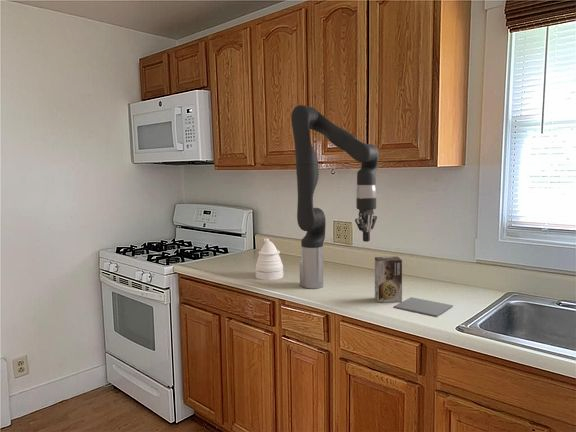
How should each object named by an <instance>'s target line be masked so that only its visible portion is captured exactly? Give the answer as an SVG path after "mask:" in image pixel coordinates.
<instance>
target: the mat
mask: <svg viewBox="0 0 576 432" xmlns="http://www.w3.org/2000/svg"><path fill="white" fill-rule="evenodd" d="M453 307H454V305H453V304H448V303H445V302H440V301H439V302H437V301H434V300H427V299H424V298H423V299H422V298H418V297H413V296H411V297H408V298H406V299H405V300H402V302H398V303H397V304H395V305H393V308H394V309H399V310H404V311H408V312H413V313H418V314H421V315H426V316H432V317H434V318H435V317H436V318H438V317H440V316H441V315H443V314H444V313H446V312H447V311H448V310H450V309H452V308H453Z"/></svg>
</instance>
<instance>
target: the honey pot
mask: <svg viewBox="0 0 576 432" xmlns="http://www.w3.org/2000/svg"><path fill="white" fill-rule="evenodd" d="M263 242H264V243H263V245H262V247H261V250H259V251H258V257H257V260H256V264H255V278H256V279H258V280H261V281H270V280H271V281H274V280H280V279H282V278H283V277H284V265H283V262H282V259H281V256H280V253H281V252H280V250H279V249H278V248H276V245H275V244H274V243H273V242H272V241H271V240H270V238H267V237H266V238H265V237H264V238H263Z"/></svg>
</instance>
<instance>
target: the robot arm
mask: <svg viewBox="0 0 576 432" xmlns="http://www.w3.org/2000/svg"><path fill="white" fill-rule="evenodd" d="M290 118H291V119H290V120H291V128H292V133H293V135H292V136H293V140H294V151H295V152H294V153H295V170H296V173H295V174H296V187H297V205H296V206H297V210H296V219H297V225H298V227H299V228H300V230H302V231H304V232H306V233H305V235H304V236H303V238H302V239H301V241H300V243H301V246H300V247H301V249H300V250H301V251H300V252H301V259H300V260H301V263H299V286H302V288H304V289H305V288H306V289H320V288H322V287H324V242H325V239H326V215H325V213H324V211H323V210H322V209H321V208H319V207H314V193H315V190H316V187H317V185H318V181H319V175H320V171H319V170H320V169H319V159H318V156H317V154H316V151H315V149H314V146H313V144H312V141H311V137H310V130H312V131H314V132H317V133H320V134H321V135H323V136H324V137H325V138H326V139H327V140H328V141H329V142H330V143H331V144H332V145H334V146H336V147H337V148H338V149H340V150H342V151H344V152H345V153H346V154H347V155H348V156H350V157H351V158H352V159H354V160H355V161H357V162H359V163H361V167H360V169H359V170H358V171H357V172H356V190H355V191H356V192H355V193H356V194H355V195H356V200H355V202H356V204H355V205H356V206H355V207H356V209H357V210H358V217H357V218H355V220H354V222H355V223H356V225H357V229H358V230H359V231H360V232H362V241H363V242H364V243H365V242H366V243H368V242H370V240H371V238H370V237H371V236H370V235H371V231H372V230H373V229H374V228H375V224H376V222H377V219H378V216H376V215H375V214H374V213H375V212H374V210H376V209H377V186H376V181H377V177H376V176H377V175H376V172H377V167H378V165H379V164H378V163H379V157H380V156H379V154H380V153H379V150H378V148H377V146H375V145H374V144H370V143H364V142H362V141H360V140H359V139H358V137H357V136H356V135H355V134H352V133H351V132H349V131H347V130H346V129H344V128H342V127H340V126H338V125H337V124H335V123H334V122H332V121H330V120H329V119H328V118H327V117H326V116H324V115H323V114H322V113H321V112H319V110H317V109H316V108H314V107H313V106H308V105H303V104H300V105H297V106H295V107H294V108H293V110H292V112H291V116H290Z"/></svg>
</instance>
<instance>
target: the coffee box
mask: <svg viewBox="0 0 576 432" xmlns="http://www.w3.org/2000/svg"><path fill="white" fill-rule="evenodd" d="M374 299H375V300H376V302H377V303H401V302H403V260H402V258H401V257H399V256H398V255H397V256H375V257H374Z"/></svg>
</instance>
